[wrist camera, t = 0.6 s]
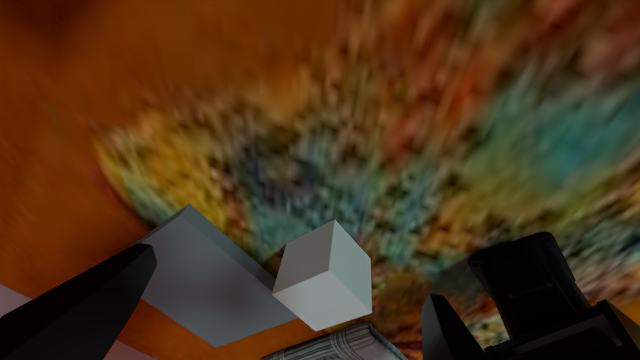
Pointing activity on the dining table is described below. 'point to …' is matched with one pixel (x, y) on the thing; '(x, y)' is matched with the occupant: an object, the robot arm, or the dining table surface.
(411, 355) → the dining table surface
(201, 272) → the slate board
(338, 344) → the dish towel
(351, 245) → the white cube
